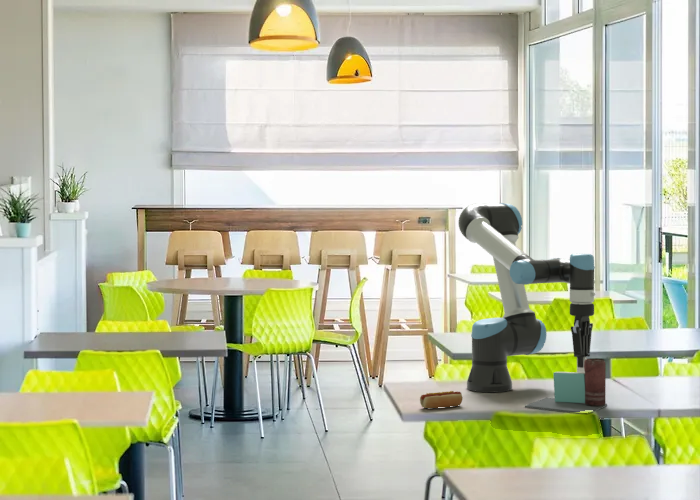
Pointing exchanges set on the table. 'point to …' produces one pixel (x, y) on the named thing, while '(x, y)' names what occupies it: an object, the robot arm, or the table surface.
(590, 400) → the can
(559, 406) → the mat
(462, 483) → the table surface
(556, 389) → the tile
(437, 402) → the food
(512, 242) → the robot arm
